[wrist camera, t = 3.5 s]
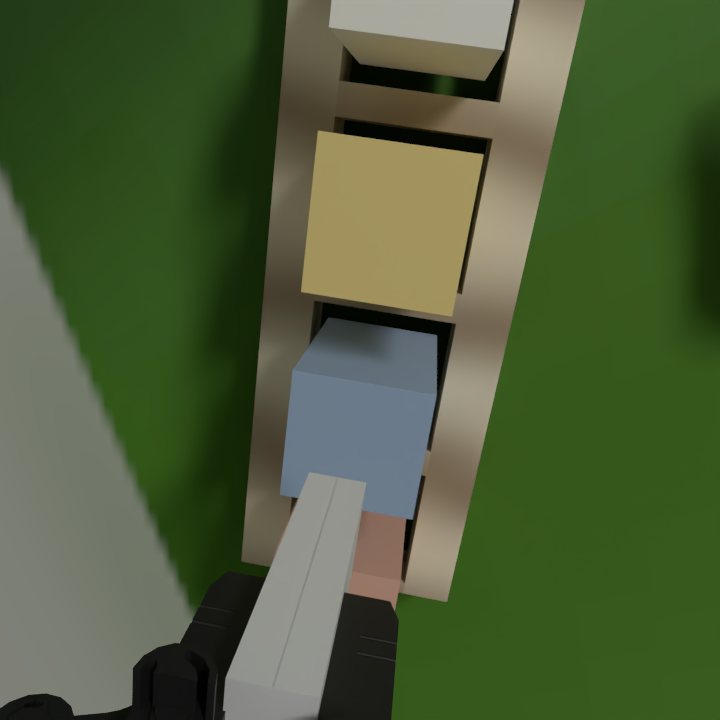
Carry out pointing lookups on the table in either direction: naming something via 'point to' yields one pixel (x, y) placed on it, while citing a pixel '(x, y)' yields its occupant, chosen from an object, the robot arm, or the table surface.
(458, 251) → the block mustard
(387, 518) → the block terracotta
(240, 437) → the table surface
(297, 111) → the board
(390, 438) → the block slate
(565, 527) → the table surface
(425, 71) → the block cream
